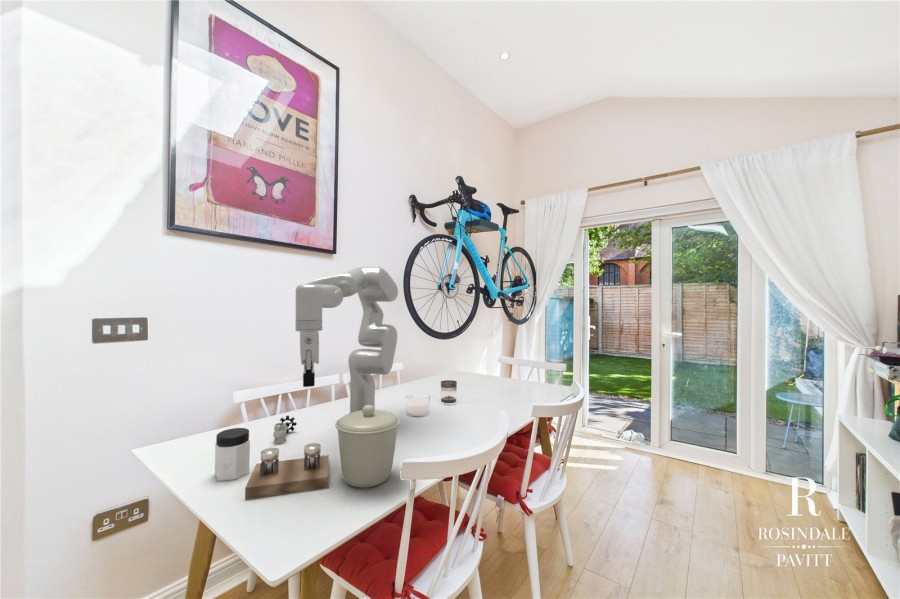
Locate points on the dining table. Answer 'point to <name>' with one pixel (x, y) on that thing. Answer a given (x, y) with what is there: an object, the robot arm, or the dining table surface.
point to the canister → (367, 446)
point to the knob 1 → (269, 458)
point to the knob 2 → (312, 454)
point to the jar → (232, 454)
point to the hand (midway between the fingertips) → (308, 385)
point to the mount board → (288, 477)
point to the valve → (282, 430)
